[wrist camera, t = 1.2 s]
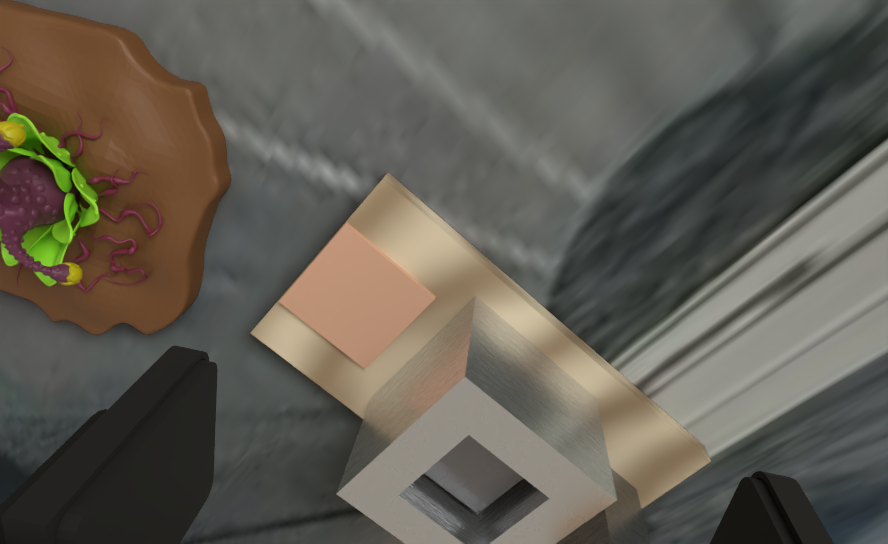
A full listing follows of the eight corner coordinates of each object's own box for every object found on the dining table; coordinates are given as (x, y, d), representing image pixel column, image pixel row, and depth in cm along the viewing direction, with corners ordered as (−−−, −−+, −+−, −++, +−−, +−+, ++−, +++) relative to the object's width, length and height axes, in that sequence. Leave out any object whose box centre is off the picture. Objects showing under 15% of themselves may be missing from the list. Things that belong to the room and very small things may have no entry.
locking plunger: (531, 456, 35) (531, 471, 34) (478, 498, 37) (477, 513, 36) (473, 410, 34) (472, 424, 33) (422, 455, 36) (419, 469, 35)
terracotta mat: (435, 296, 38) (434, 299, 38) (366, 365, 41) (365, 369, 40) (346, 222, 37) (345, 224, 37) (280, 299, 39) (278, 301, 39)
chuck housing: (596, 397, 40) (617, 499, 32) (486, 485, 44) (479, 597, 35) (475, 295, 38) (464, 376, 30) (371, 397, 42) (336, 493, 33)
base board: (704, 446, 42) (711, 461, 41) (556, 550, 47) (557, 566, 46) (387, 172, 37) (382, 178, 36) (259, 322, 42) (250, 333, 41)
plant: (-63, -61, 35) (-304, -88, 25) (262, 89, 36) (163, 123, 26) (-86, 241, 43) (-274, 315, 33) (182, 354, 44) (81, 460, 34)
